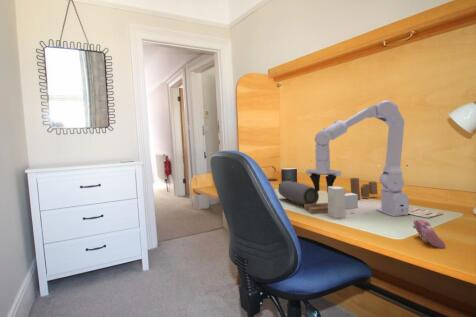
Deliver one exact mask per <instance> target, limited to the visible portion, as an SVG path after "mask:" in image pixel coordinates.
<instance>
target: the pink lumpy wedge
mask: <svg viewBox="0 0 476 317" xmlns="http://www.w3.org/2000/svg"><path fill="white" fill-rule="evenodd" d="M412 228H413V229H414V230H416V232H417V234H418V236H419V238H420V239H421V240H422V241H423V242H424V243H425V244H431V245H432V246H433V247H434V248H438V249H445V248H446V243H445V242H444V241H443V240H442V239H441V237H440V236H439V235H438V234H437V233H436V231H435V230H434V228H433V227H432V225H431V223H430V222H429V221H427V220H424V219H416V220H413V225H412Z"/></svg>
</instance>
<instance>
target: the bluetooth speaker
mask: <svg viewBox="0 0 476 317" xmlns="http://www.w3.org/2000/svg"><path fill="white" fill-rule="evenodd" d="M277 189H278V193H279V195H280V196H282V197H283V198H285V199H287V200H289V202H291V203H293V204H296V205H300V206H304V205H305V204H317V203H318V201H319V198H320V194H319V191H318V192H316V191H315V187H314V186H313V187H312V186H310V185H307V184H304V183H300V182H295V181H290V180H284V181H281V182H280V184H279V185H278V188H277Z"/></svg>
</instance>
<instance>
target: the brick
mask: <svg viewBox="0 0 476 317" xmlns="http://www.w3.org/2000/svg"><path fill="white" fill-rule="evenodd" d="M354 207H357V208H358V207H359V199H358V195H357V194H354V193H351V192H348V193H346V192H345V210H347V208H348V209H354Z"/></svg>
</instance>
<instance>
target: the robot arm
mask: <svg viewBox="0 0 476 317" xmlns="http://www.w3.org/2000/svg"><path fill="white" fill-rule="evenodd" d="M368 118H369V119H372V118H375V119H378V120H380V121H381V122H383V123H384V124H386V125H387V127H388V134H387V143H386V154H385V165H384V167H383V170H382V174H380V176H379V182H380V184H381V185H382V186H381V188H380V193H381V194H380V195H381V196H380V199H381V203H380V205H381V206H380V208H375V210H376V211H378V212H380V213H384V214H386V215H389V216H391V217H396V216H397V217H398V216H409V215H408V214H410V215H411V212H410V211H409V210H410V208H409V204H410V202H409V201H410V198H409V196H408V195H407V194H406V193H404V191H403V188H404V185H405V180H404V177H403V171H402V168H401V162H402V150H403V140H404V130H405V119H404V118H403V116H402V113H401V112H400V110H399V106H398V105H397V104H395V103H394V102H393V101H392V100H388V99H385V100H383V101H380V102H378V103H375V104H372V105H371V106H368V107H365V108H364V109H363V110H360V111H359V112H357V113H355V114H354V115H352V116H350V117H349V118H347V119H346V120H335V121H333V122H332V124H330V125H329V126H327V127H323V128H322V130H320V131H318V132H317V133H316V134H315V135H314V142H315V146H314V148H315V151H314V152H315V169H306V170H305V171H306V172H305V174H306V175H309V178H310V180H311V182H312V184H313V188H315V191H316V192H318V193H319V191H320V189H321V188H320V182H321V181H320V180H321V176H325V181H326V193H327V194H328V186H334V183H335V180H336V179H337V177H341V176H342V171H341V170H333V169H331V156H330V155H331V154H330V153H331V151H330V141H333V140H336V139H337V138H339V137H340V136H342V135H345V134H346V133H347V132H348V129H349V128H350V127H353V126H354V125H356V124H358V123H359V122H361V121H363V120H366V119H368Z"/></svg>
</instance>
